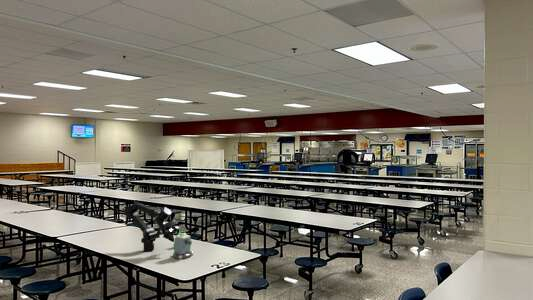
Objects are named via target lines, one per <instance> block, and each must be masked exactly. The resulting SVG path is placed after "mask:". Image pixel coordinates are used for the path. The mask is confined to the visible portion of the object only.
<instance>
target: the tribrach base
mask: <svg viewBox="0 0 533 300" xmlns="http://www.w3.org/2000/svg"><path fill="white" fill-rule="evenodd" d="M192 256H194V251H191V250H190V252H187V253H184V254H178V253H174V252H173V254H172V258H173V259H175V260H178V261H181V260H186V259H187V260H188V259H190V258H191V257H192Z"/></svg>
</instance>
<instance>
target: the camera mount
mask: <svg viewBox="0 0 533 300" xmlns="http://www.w3.org/2000/svg"><path fill="white" fill-rule="evenodd" d="M183 233H184V232H178V233H177V234H176V236H177V235H180V234H183ZM192 243H193V242H192ZM192 243H191V245H190V246H192ZM174 247H175V241H174V242H173V248H174Z"/></svg>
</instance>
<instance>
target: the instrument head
mask: <svg viewBox="0 0 533 300" xmlns="http://www.w3.org/2000/svg"><path fill="white" fill-rule="evenodd" d="M182 233H183V234H180V235H177V234H176V235H175V237H174V242H175V247H173V248H174V250H173V254H174V253H178V254H184V253H187V252H190V251H191V246H192V245H191V243H193V242H192V240H191V239H192V238H191V235H188V234H187V233H186V232H182Z"/></svg>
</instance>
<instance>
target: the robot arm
mask: <svg viewBox="0 0 533 300" xmlns="http://www.w3.org/2000/svg"><path fill="white" fill-rule="evenodd" d="M138 211H141V212H143V213H145V214H147V216H148V217H150V218H153V221H152V222H153V223H154V224H155V223H156V225H157V226H158V227H157V228H158V230H157V231H156V230H155V229H154V227H148V225H147V224H146V223H145V221H144V220H143V219H142V218H141V216H139V213H138ZM123 213H124V215H125V216H126V217H127V218H130V219H131V220H132V222H134V224H135V225H136V226H137V227H138V229H139V230H140V231H141V232H142V238H141V244H143V250H142V252H146V253H147V252H153V251H154V250H155V241H156V239H159V238H160V237H161V235H162V238H163V239H166V240H168V241H170V242H172V243H174V242H175V237H174V234H176V233H177V232H178V230H179V229H180V226H178V225H176V224H177V222H176V221H177V220H176V219H172V220H171V221H167V219H168V218H169V217H170V216H171V214H172V210H171V209H169V208H168V207H167V206H163V208H162V209H160V208H159V207H158V208H157V207H150V206H148V205H146V204H143V203H141V202H134V203H133V204H131V205H129V206H126V207H125V208H124V210H123Z"/></svg>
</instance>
